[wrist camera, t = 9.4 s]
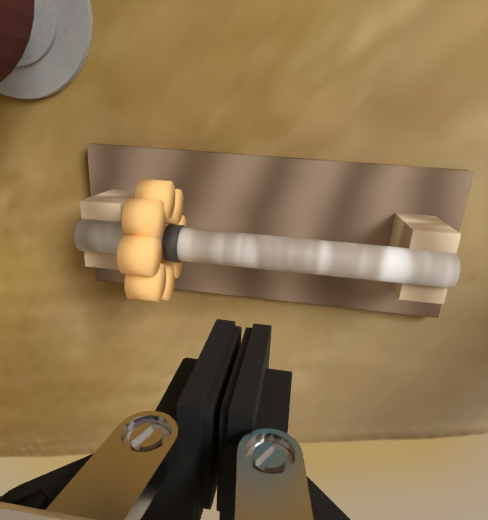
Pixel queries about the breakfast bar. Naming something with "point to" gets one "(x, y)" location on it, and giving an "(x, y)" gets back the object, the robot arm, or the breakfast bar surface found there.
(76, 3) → the mate gourd
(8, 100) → the breakfast bar surface
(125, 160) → the pipe stand
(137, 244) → the tan lobed rosette
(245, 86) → the breakfast bar surface
